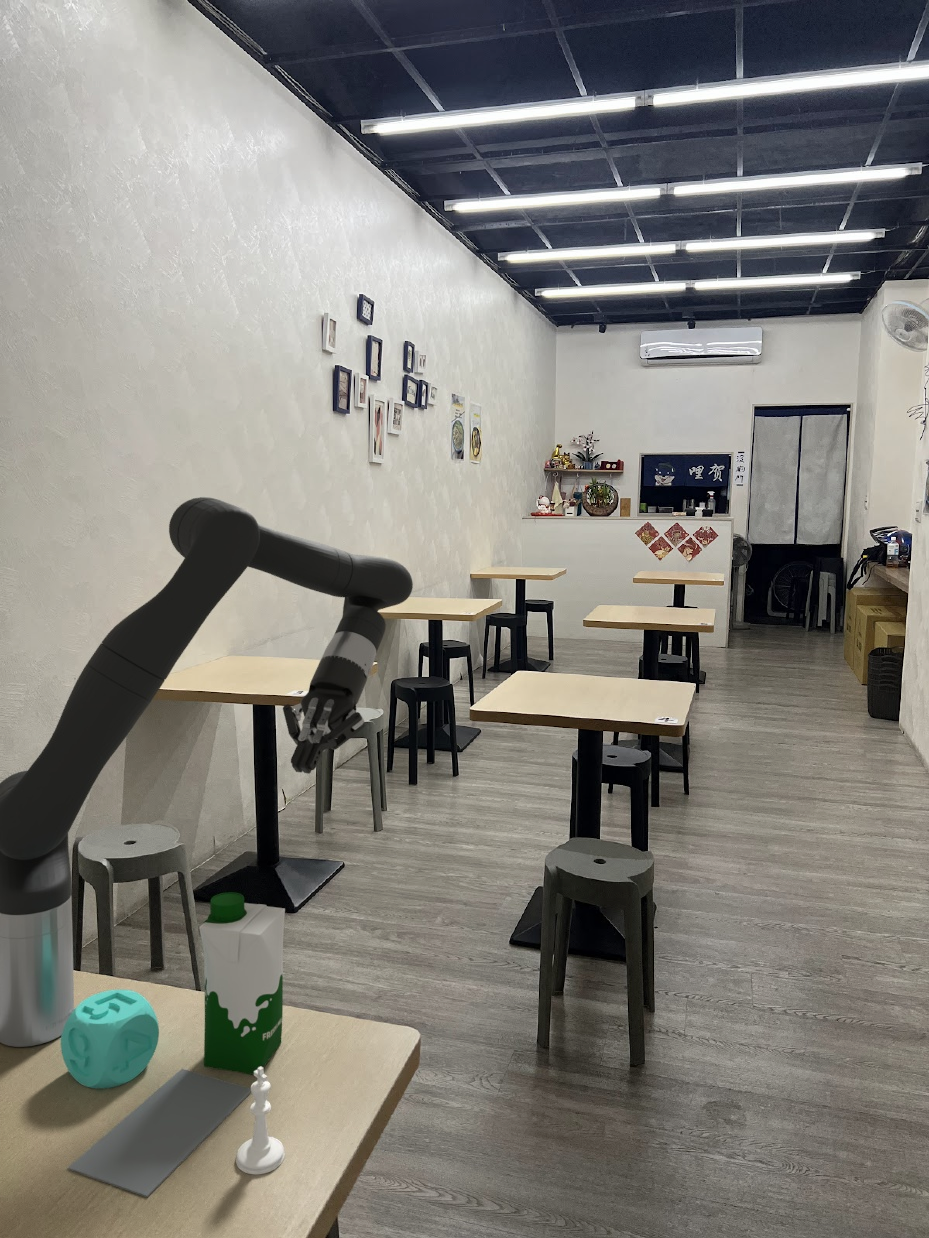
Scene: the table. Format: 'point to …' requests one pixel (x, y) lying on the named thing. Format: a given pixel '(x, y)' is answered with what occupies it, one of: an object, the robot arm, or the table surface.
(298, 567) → the robot arm
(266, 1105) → the chess piece
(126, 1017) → the decorative dice
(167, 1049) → the table surface
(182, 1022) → the table surface
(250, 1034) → the soya milk
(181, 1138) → the mat
